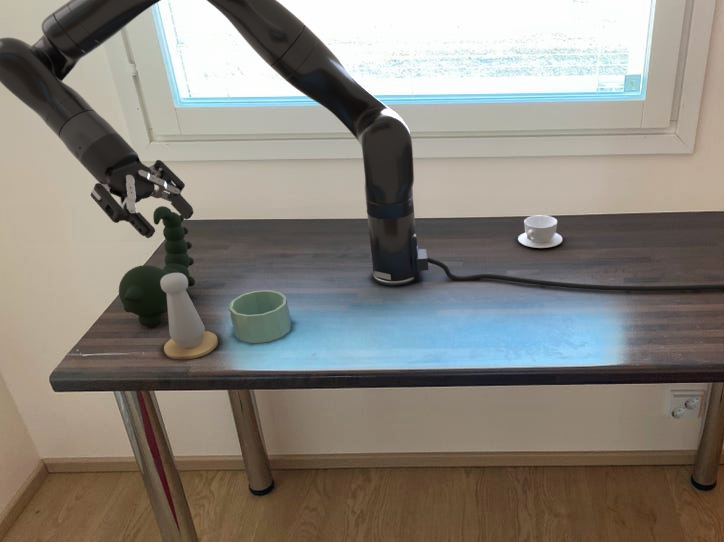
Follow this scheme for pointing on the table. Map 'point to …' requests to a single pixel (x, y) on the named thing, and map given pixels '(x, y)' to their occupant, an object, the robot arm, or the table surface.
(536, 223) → the teacup
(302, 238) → the table surface
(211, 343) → the coaster
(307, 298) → the table surface
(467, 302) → the table surface
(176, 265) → the toy figurine
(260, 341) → the cup
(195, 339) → the salt shaker
